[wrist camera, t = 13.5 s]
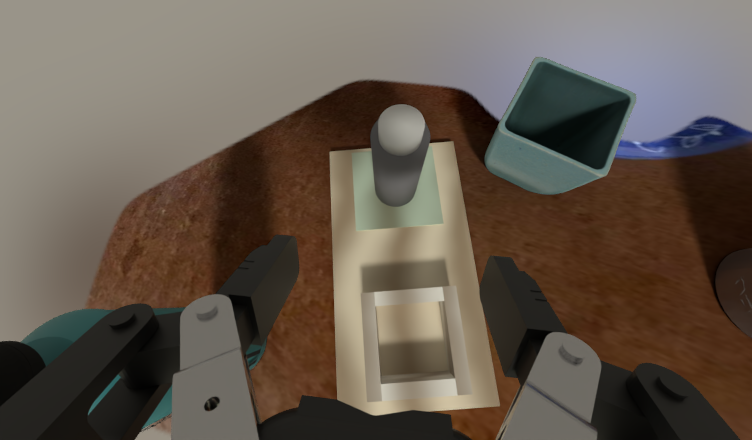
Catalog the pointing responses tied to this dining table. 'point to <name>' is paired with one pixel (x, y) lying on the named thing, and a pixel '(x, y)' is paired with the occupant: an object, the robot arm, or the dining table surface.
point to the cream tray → (406, 292)
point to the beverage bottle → (29, 357)
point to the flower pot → (559, 129)
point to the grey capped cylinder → (398, 153)
